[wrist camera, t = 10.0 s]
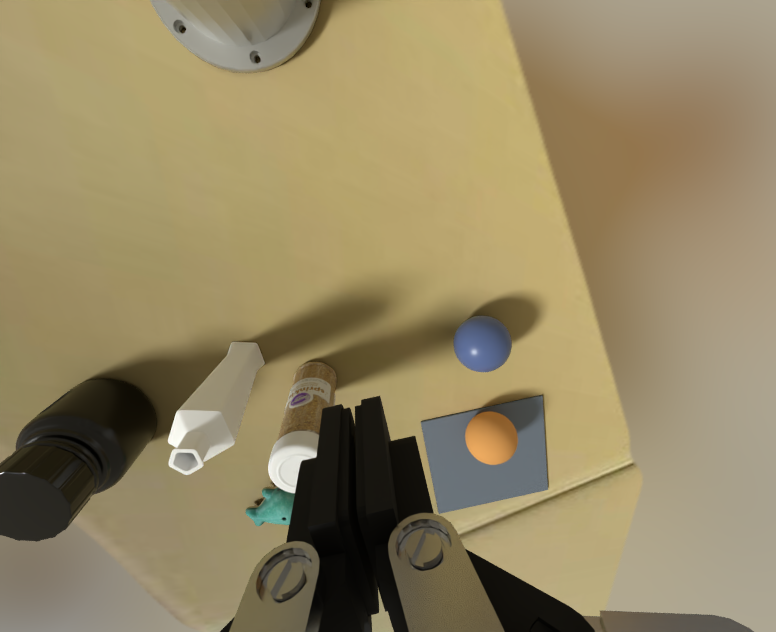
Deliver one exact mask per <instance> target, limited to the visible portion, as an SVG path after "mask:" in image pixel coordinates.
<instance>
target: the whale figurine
mask: <svg viewBox="0 0 776 632" xmlns="http://www.w3.org/2000/svg"><path fill="white" fill-rule="evenodd" d="M262 495H263V496H264V497H265V499H264V500H263V501H262V503H261V504H260V505H259V506H251V507H248V508H247V509H246V514H247V515H248V516H249V517H250V518H251V519H252V520H253V521H254V522H255V525H257V526H260V525H262V524H263V523H264V522H268V523H274V524H284V525H290V519H291V513H292V507H293V502H294V496H295V493H290V492H287V491H284V490H282V489H280V488H279V487H278V486H275V487H265V488H264V489H263V490H262Z"/></svg>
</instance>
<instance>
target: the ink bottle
mask: <svg viewBox="0 0 776 632" xmlns="http://www.w3.org/2000/svg"><path fill="white" fill-rule="evenodd" d="M156 426H157V418H156V413H155V410H154V408H153V406H152V404H151V402H150V401H149V400H148V398H147V397H146V396H145V395H144V394H143V393H142V392H141V391H140V390H138V389H137V388H136V387H134V386H132V385H130V384H128V383H125V382H122V381H118V380H112V379H95V380H90V381H86V382H83V383H81V384H79V385H77V386H75V387H74V388H72V389H71V390H70V391H69V392H67V393H65V394H64V395H63V396H62V397H60V398H59V399H58V400H57V401H55V402H54V403H53V404H51V405H50V406H49V407H47V408H46V409H45V410H44V411H42V412H41V413H40V414H39V415H37V416H36V417H35V418H34V419H33V420H31V421H30V422H29V423H28V424H27V425H26V426H25V427H24V428H23V429H22V431H21V432H20V434H19V436H18V438H17V442H16V451H15V452H14V453H13V454H12V455H11V456H9V457H7V458H6V459H5V460H4V461H3V462H1V463H0V535H3V536H6V537H10V538H13V539H15V540H19V541H20V540H26V541H40V540H43V539H48V538H53V537H55V536H56V535H57V534H59V533H60V532H62V531H63V530H65V529H66V528H67V527H68V526H69V525H70V523H71V522H72V521H73V520H74V518H75V517H76V516H77V515H78V513H79V512H80V511H81V510H82V508H83V507H84V506H85V505H86V503H87V502H88V501H89V500H90V497H91V496H92V495H93V494H97V493H100V492H102V491H105V490H107V489H109V488H110V487H112V486H114V485H115V484H116V483H117V482H118V481H119V480H120V479H121V478H122V477H123V476H124V475H125V473H126V472H127V471H128V469H129V468H130V467H131V465H132V464H133V463H134V461H135V460H136V459H137V457H138V456H139V455H140V453H141V452H142V451H143V449H144V448H145V447H146V445H147V444H148V443H149V441H150V440H151V439H152V437H153V435H154V433H155V431H156Z"/></svg>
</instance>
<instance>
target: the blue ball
mask: <svg viewBox="0 0 776 632" xmlns="http://www.w3.org/2000/svg"><path fill="white" fill-rule="evenodd" d="M511 347H512V342H511V336H510V334H509V331H508V330H507V328H506V327H505V326H504V324H502V323H501V322H500V321H499V320H497V319H495V318H493V317H490V316H475V317H472V318H469V319H467V320H466V321H464V322H463V323H462V324H461V325H460V326H459V328H458V329H457V331H456V333H455V336H454V351H455V354H456V356H457V358H458V359H459V361H460V362H461V363H462V364H463V365H464V366H466V367H467V368H469V369H471V370H473V371H477V372H489V371H493V370H495V369H497V368H499V367H500V366H502V365H503V364H504V363H505V362H506V360H507V359H508V357H509V355H510V352H511Z"/></svg>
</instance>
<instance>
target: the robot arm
mask: <svg viewBox="0 0 776 632" xmlns="http://www.w3.org/2000/svg"><path fill="white" fill-rule="evenodd" d="M150 1H151V4H152V6H153V8H154V9H155V11H156V13H157V14H158V16H159V17H160V19H161V21H162V22H163V24H164V25H165V26H166V27H167V29H168V30H169V31H170V32H171V33H172V35H173V36H174V37H175V38H176V39H177V40H178V41H179V42H180V43H181V44H182V45H184V46H185V47H186V48H187V49H188V50H189V51H190V52H192V53H193V54H195V55H196V56H197V57H199V58H200V59H202V60H203V61H205V62H207V63H209V64H211V65H213V66H215V67H217V68H220V69H224V70H227V71H231V72H236V73H257V72H263V71H267V70H270V69H272V68H275V67H277V66H280V65H281V64H283V63H284V62H286V61H287V60H288V59H290V58H291V57H293V56H294V54H295V53H296V52H297V51H298V50H299V49H300V48H301V47H302V46H303V45H304V43H305V41H306V40H307V38H308V37H309V35H310V33H311V32H312V29H313V27H314V24H315V21H316V19H317V16H318V13H319V7H320V2H321V0H150ZM307 2H310V3H312V7H311V8H307V7H306V6H305V5H306V3H307ZM183 27H186V31H185V33H183V34H182V32H181V30H182V28H183ZM256 57H260V58H261V61H260V63H256V62H255V58H256ZM378 589H379V592H380V595H381V599H382V602H383V605H384V609H385V611H388V613H389V616H390V620H391V623H392V627H393V630H394V632H753V631H752V630H751V629H750V628H748V627H746V626H744V625H742V624H740V623H738V622H736V621H734V620H732V619H729V618H725V617H719V616H715V615H699V614H674V613H646V612H622V611H600V617H597V616H582V615H581V614H579V613H578V612H576V611H575V610H574V609H572V608H571V607H569V606H568V605H566V604H564V603H562V602H560V601H559V600H557V599H555V598H553V597H551V596H550V595H548V594H546V593H544V592H542V591H541V590H539V589H537V588H535V587H533V586H532V585H530V584H528V583H526V582H524V581H522V580H521V579H519V578H517V577H515V576H513V575H512V574H510V573H508V572H506V571H504V570H503V569H501V568H499V567H497V566H495V565H494V564H492V563H490V562H488V561H486V560H485V559H483V558H481V557H479V556H477V555H476V554H474V553H472V552H470V551H468V550H467V549H465V548H464V546H463V544H462V541H461V539H460V537H459V535H458V533H457V531H456V530H455V528H454V527H453V525H452V524H451V523H450V522H449V521H448V520H446V519H445V518H444V517H442V516H439V515H436V514H434V513H433V509H432V505H431V500H430V496H429V492H428V488H427V484H426V479H425V475H424V471H423V467H422V463H421V459H420V454H419V450H418V446H417V442H416V438H415V436H412V437H407V438H403V439H398V440H394V441H391V440H390V436H389V431H388V427H387V423H386V419H385V414H384V410H383V406H382V402H381V398H380V396H377V397H372V398H368V399H363V400H361V405H359V406H355V423H354V420H353V416H352V412H351V409H350V408H346V409H344V408H343V406H342V404H340V405H336V406H331V407H326V408H323V409H322V415H321V424H320V432H319V440H318V448H317V456H316V458H311V459H307V460H302V462H301V464H300V468H299V473H298V479H297V485H296V490H295V496H294V502H293V507H292V513H291V519H290V525H289V530H288V536H287V542H286V543H284V544H282V545H280V546H278V547H276V548H274V549H273V550H271V551H270V552H269V553H268V554H266V555H265V556H264V557H263V558H262V560H261V561H260V562H259V563H258V564H257V565H256V567H255V569H254V571H253V573H252V575H251V577H250V579H249V582H248V584H247V587H246V589H245V592H244V595H243V597H242V600H241V602H240V605H239V608H238V610H237V613H236V615H235V617H234V618H233V619H232V620H231V621H230V622H229V623H228V624H227V625H226V626H225V627H224V628H223V629H222V630H221V631H220V632H372V621H371V615H373V614H377V613H379V599H378Z"/></svg>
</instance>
